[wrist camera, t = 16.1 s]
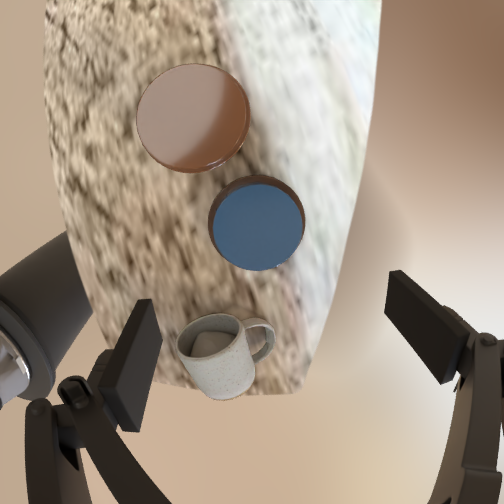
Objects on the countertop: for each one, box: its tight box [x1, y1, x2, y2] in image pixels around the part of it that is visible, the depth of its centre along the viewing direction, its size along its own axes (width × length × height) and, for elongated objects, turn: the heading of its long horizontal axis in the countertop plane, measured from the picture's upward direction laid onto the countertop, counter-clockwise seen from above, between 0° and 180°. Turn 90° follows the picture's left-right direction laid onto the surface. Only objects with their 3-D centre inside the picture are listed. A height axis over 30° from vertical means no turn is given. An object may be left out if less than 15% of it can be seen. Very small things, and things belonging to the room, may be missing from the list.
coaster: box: [208, 175, 305, 263], centre depth 31 cm, size 10×10×1 cm
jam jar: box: [136, 64, 251, 173], centre depth 22 cm, size 8×8×10 cm
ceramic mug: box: [175, 313, 276, 401], centre depth 32 cm, size 11×8×8 cm
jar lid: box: [212, 182, 302, 271], centre depth 30 cm, size 9×9×2 cm
